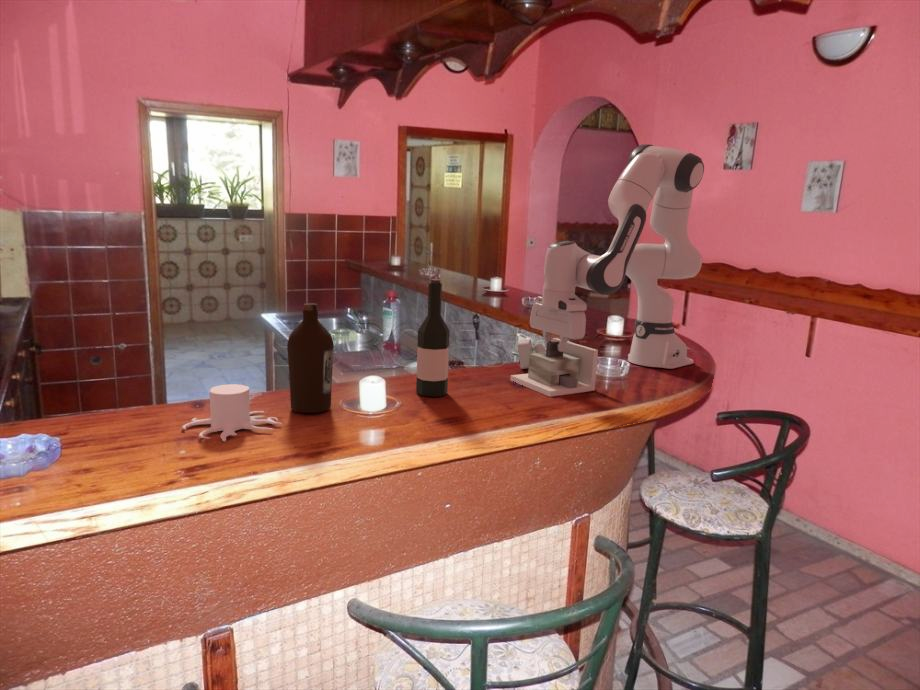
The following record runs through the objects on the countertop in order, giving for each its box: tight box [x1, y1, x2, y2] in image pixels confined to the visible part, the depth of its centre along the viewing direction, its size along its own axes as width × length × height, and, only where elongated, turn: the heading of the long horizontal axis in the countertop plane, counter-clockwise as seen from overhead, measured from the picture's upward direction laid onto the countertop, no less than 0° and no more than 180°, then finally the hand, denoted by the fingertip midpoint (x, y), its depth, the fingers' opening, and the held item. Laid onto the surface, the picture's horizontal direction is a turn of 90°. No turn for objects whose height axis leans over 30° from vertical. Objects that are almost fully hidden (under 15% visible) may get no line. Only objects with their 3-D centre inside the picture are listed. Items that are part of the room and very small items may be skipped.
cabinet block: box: [527, 341, 580, 386], centre depth 183 cm, size 10×10×11 cm
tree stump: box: [181, 383, 283, 442], centre depth 142 cm, size 20×19×8 cm
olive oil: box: [286, 302, 335, 414], centre depth 153 cm, size 11×11×25 cm
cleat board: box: [510, 337, 599, 398], centre depth 183 cm, size 16×18×12 cm
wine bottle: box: [415, 278, 450, 398], centre depth 169 cm, size 8×8×30 cm
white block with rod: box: [517, 338, 546, 370], centre depth 201 cm, size 8×10×10 cm
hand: (554, 349), depth 182 cm, fingers open, 4 cm apart
